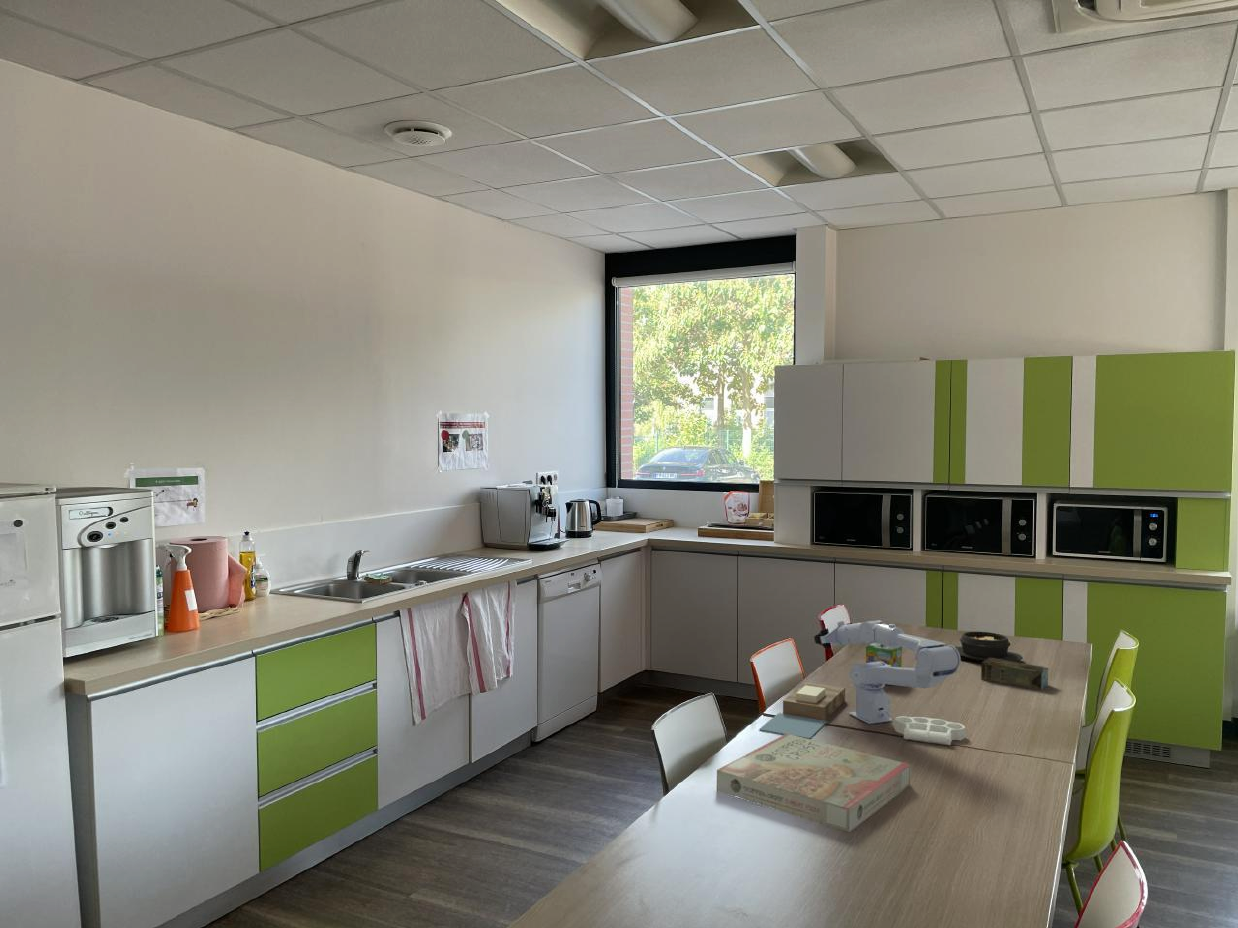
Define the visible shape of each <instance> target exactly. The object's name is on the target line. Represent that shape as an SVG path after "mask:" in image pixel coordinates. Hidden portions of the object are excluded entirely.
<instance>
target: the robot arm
mask: <svg viewBox="0 0 1238 928" xmlns="http://www.w3.org/2000/svg"><path fill="white" fill-rule="evenodd" d="M813 638H814V643H815V644H817V645H821V646H822V647H823V648H824V649H830V648H831V649H832V644H833V645H838V646H844V647H845V646H848V645H856V644H864V643H865V644H872V643H874V642H876V643H879V644H882V645H885V646H888V647H891V648H899V647H900V646H902V648H904V649H908V650H909V651H911V652H914V660H915V665H914V668H911V667H891V665H887V664H885V663H884V662H882V661H877V662H872V663H866V662H865V663H854V664H852V665H851V667H850V669H849V670H850V671H849V675H850V676H849V677H850V679H851V682H852V683H853V685H854V686H855V688H856V689H855V711H850V712H849V715H850V716H852V717H854V718H856V719H858V720H860V721H862V722H864V723H867V724H868V725H873V724H879V723H887V722H892V721H893V719H892V718H891V716H890V714H891V713H890V711H891V710H890V709H891V699H890V696H889V694H888V693H887V692H885V690H884V687H885V686H886V685H890V686H899V687H909V688H918V689H928V688H935V687H937V686H938V685H940V683H942V682H943V681H944V680H946V679H947V678H948V677H950V676H953V675H955V674H957V672H958V670H959V668H960V665H961V661H962V660H961V659H962V658H961V656H960V654H959V652H958V650H957V649H956V648H955V647H956V646H954V645H951V644H948V645H947V643H946V642H942V641H937V640H934V639H929V638H923V637H919V636H915V635H910V634H907V633H905V632H904V630H903V629H902V628H900V627H897V625H896V624H895V623H889V624H887V623H885V622H883V621H882V620H881V619H878V620H871V621H863V622H857V623H853V622H849V623H846V624H845V621H843V620H841V621H838V622H837V626H835V628H834V629H832V630H831V631H829V628H824V629H821V630H820V631H819V633H818V634H816V635H814V636H813Z"/></svg>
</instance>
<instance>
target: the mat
mask: <svg viewBox="0 0 1238 928" xmlns="http://www.w3.org/2000/svg"><path fill="white" fill-rule="evenodd" d="M827 723H828V721H827V720H825V721H824V720H818V719H812V718H806V717H800V716H794V715H788V714H783V712H782V713H781V712H778V713H777V714H776V715H774V716H773V717H772V718H771V719H769V720H768V721H767V722H766V723H765V724H764V725H762V726H761V727H760V728H759V730H758V731H760V732H765V733H770V734H776V735H782V736H783V735H785V734H790V735H794V736H798V737H802V738H806V739H810V740H812V738H813V737H814V736H815V735H816V734H817V733H818V732H819V731H820V730H821V729H822V728H823V727H824V726H825V725H826V724H827Z"/></svg>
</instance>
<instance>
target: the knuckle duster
mask: <svg viewBox="0 0 1238 928" xmlns="http://www.w3.org/2000/svg"><path fill="white" fill-rule="evenodd" d="M894 731H895V732H897V733H898V734H902V735H903V739H904V740H906V741H909V740H910V741H915V742H922V743H927V744H929V743H930V744H938V745H945V746H948V745H949V746H952V742H953V741H952V740H960V741H963V740H962V739H964V738H965V739H966V726H965V725H964V724H963V723H959V722H952V721H948V720H944V719H941V718H931V717H924V716H913V717H911V716H904V715H902V716H900V715H899V716H896V717H895V718H894ZM965 739H964V740H965ZM949 746H948V747H949Z"/></svg>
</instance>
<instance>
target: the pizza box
mask: <svg viewBox="0 0 1238 928" xmlns="http://www.w3.org/2000/svg"><path fill="white" fill-rule="evenodd" d="M910 786H911V764H909V763H906V762H902V761H897V760H895V759H890V758H886V757H883V756H878V755H873V754H870V753H867V752H866V753H865V752H861V751H857V750H854V749H851V748H850V749H849V748H845V747H843V746H842V747H841V746H838V745H833V744H829V743H826V742H821V741H817V740H813V739H806V738H802V737H798V736H794V735H790V734H785V735H782V736H779V737H777V738H775V739H774V740H772V741H769V742H767V743H766V744H764V745H762V746H760V747H758V748H756V749H754V750H753V751H750V752H749V753H747V754H745V755H743V756H741V757H739V758H738V759H737V758H736V759H735V760H733V761H731V762H728V764H726V765H724V766H721V767H720V768H718V769H716V792H719V793H721V792H722V793H721V794H724V793H725V795H727V794H729V795H728V796H730V795H732V796H731V797H734V796H738V797H740V798H743V799H746V800H745V801H747V800H749V801H748V802H750V801H752V802H751V803H753V802H755V803H754V804H756V803H759V804H761V805H760V806H763V805H765V806H764V807H766V806H767V808H769V807H771V808H770V809H772V808H774V809H773V810H776V809H777V810H776V811H779V810H780V811H779V812H782V811H783V813H785V812H786V814H788V815H792V816H796V817H799V818H801V819H805V820H808V821H812V822H815V823H818V824H821V825H824V826H828V827H831V828H834V829H836V830H841V831H844V832H848V833H850V832H852V831H853V830H854V829H856V828H857V827H858V826H859V825H861V824H862V823H863V822H865V821H866V820H867V819H868V818H869V817H871V816H872V815H873V814H875V813H876V812H877V811H878V810H880V809H881V808H882V807H884V806H885V805H886V804H888V803H889V802H890V801H891V800H892V798H893V799H894V798H895V797H897V795H899V794H901V792H903V791H904V790H906V789H907V788H908V787H910ZM740 798H739V799H740ZM743 799H742V800H743ZM888 801H889V802H888ZM759 804H758V805H759ZM883 805H884V806H883Z"/></svg>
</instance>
